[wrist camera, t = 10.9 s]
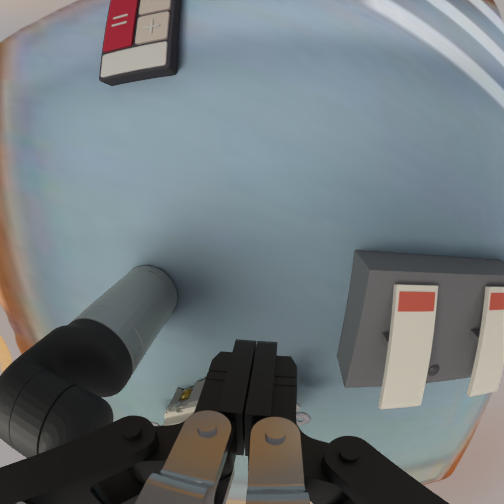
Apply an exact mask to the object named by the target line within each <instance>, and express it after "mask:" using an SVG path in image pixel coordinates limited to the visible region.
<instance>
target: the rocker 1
mask: <svg viewBox="0 0 504 504" xmlns="http://www.w3.org/2000/svg"><path fill="white" fill-rule="evenodd" d="M437 294H438V286H434V285H400V284H394V290H393V304H392V315H391V325H390V334H389V342H388V350H387V357H386V364H385V371H384V377H383V383H382V389H381V394H380V400H379V405H378V407H379V408H380V409H392V408H403V407H412V406H421V402H422V397H423V393H424V388H425V383H426V378H427V373H428V367H429V361H430V355H431V348H432V341H433V334H434V326H435V316H436V306H437Z"/></svg>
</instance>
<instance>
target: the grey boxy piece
mask: <svg viewBox="0 0 504 504" xmlns="http://www.w3.org/2000/svg"><path fill="white" fill-rule="evenodd" d="M205 380H206V379H205ZM205 380H202V381H198V382H196V383H195V385H194V387H191V388H187V389H184V390H182V389H180V388H177V390H176V392H175V394H174V396H173V399H172V401H171V403H170V405H169V407H168V409H167V411H166V413H165V416H164V418H165V419H166V420H165V422H164V424H163V426H165V425H175V424H179V423H181V422H183V421H185V420H186V419H187V418H188V417H189V416H191V415H192V414H193V413H194V411H195V409H196V406H197V403H198V400H199V397H200V394H201V391H202V388H203V385H204V382H205ZM299 410H300V405H299V404H298V403H296V412H299ZM298 418H303V419H304V420H303V421H298V420H297V419H298ZM310 420H311V418H310V417H309V415H308V414H307V413H303V412H300V413H297V414H296V421H297V425H298V426H300V425H303V424H307V423H309V421H310ZM151 423H152V424H153V425H154V426H160V425H159V424H158V423H155V422H151Z"/></svg>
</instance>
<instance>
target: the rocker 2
mask: <svg viewBox="0 0 504 504" xmlns="http://www.w3.org/2000/svg"><path fill="white" fill-rule="evenodd" d="M503 366H504V287H495V286H485V297H484V306H483V314H482V321H481V328H480V335H479V340H478V346H477V351H476V357H475V361H474V366H473V371H472V375H471V379H470V383H469V387H468V391H467V395H468V396H469V397H471V396H477V395H481V394H486V393H491V392H494V391H497V389H498V386H499V382H500V378H501V374H502V370H503Z"/></svg>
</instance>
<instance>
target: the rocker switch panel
mask: <svg viewBox="0 0 504 504" xmlns="http://www.w3.org/2000/svg"><path fill="white" fill-rule="evenodd" d="M394 284H400V285H434V286H438V294H437V306H436V316H435V326H434V334H433V341H432V348H431V355H430V361H429V367H428V373H427V378H426V383H429V382H438V381H447V380H454V379H461V378H468V377H471V375H472V371H473V366H474V361H475V357H476V351H477V346H478V340H479V335H480V328H481V321H482V314H483V306H484V297H485V286H495V287H504V262H502V261H501V260H493V259H479V258H465V257H450V256H435V255H420V254H405V253H389V252H374V251H358V250H355V253H354V261H353V268H352V275H351V282H350V288H349V294H348V300H347V306H346V312H345V318H344V323H343V328H342V334H341V339H340V344H339V349H338V354H337V358H338V362H339V366H340V371H341V375H342V379H343V383H344V387H377V386H382V383H383V377H384V371H385V364H386V357H387V350H388V342H389V334H390V325H391V315H392V304H393V290H394Z"/></svg>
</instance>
